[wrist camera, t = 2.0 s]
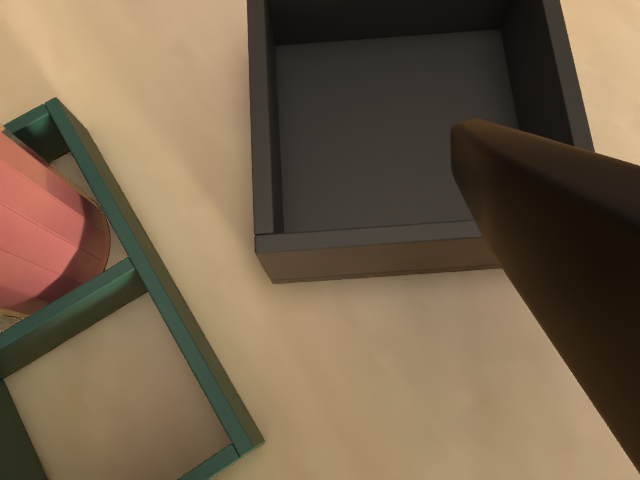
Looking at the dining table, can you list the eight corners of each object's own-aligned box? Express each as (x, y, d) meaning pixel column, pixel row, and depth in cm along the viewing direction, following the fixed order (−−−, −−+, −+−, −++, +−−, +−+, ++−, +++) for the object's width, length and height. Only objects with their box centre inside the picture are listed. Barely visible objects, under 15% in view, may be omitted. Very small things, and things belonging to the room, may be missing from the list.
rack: (265, 441, 22) (254, 448, 19) (71, 572, 21) (28, 601, 18) (87, 129, 26) (55, 96, 23) (-82, 223, 25) (-137, 200, 22)
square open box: (553, 264, 23) (613, 228, 18) (272, 284, 24) (254, 253, 18) (507, 26, 27) (546, -60, 22) (262, 45, 27) (245, -36, 22)
